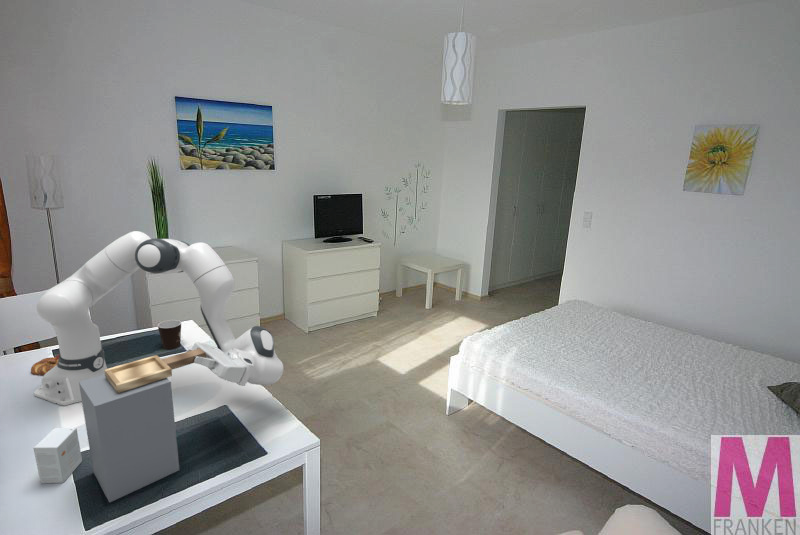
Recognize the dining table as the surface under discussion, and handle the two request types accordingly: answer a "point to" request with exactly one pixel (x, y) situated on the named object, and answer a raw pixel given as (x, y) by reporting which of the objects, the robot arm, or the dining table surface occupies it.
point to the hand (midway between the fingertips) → (190, 355)
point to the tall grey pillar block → (129, 434)
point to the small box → (58, 455)
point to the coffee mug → (170, 334)
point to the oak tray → (148, 370)
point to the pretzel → (44, 366)
